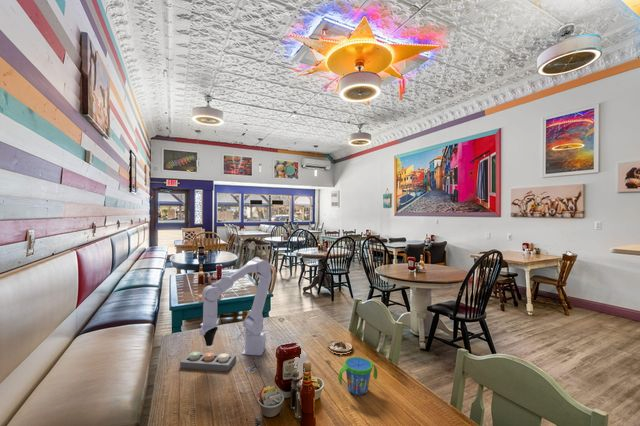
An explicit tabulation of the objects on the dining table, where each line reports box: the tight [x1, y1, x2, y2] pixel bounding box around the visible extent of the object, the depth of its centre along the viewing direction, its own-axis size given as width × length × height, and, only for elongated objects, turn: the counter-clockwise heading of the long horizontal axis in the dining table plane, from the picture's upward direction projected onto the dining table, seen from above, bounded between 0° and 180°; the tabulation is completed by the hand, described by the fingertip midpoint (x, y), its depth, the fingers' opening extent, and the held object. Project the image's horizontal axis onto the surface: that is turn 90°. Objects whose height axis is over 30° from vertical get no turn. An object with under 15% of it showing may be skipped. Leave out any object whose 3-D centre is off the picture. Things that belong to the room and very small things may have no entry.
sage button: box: [188, 351, 201, 361], centre depth 128 cm, size 4×4×2 cm
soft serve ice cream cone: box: [293, 343, 308, 377], centre depth 113 cm, size 8×8×16 cm
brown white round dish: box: [327, 340, 354, 353], centre depth 144 cm, size 15×15×4 cm
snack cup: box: [337, 356, 378, 396], centre depth 111 cm, size 16×10×10 cm
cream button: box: [218, 353, 229, 363], centre depth 126 cm, size 4×4×2 cm
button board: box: [179, 351, 237, 372], centre depth 127 cm, size 21×9×2 cm, turn 85°
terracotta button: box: [204, 352, 215, 362], centre depth 127 cm, size 4×4×2 cm
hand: (209, 345), depth 127 cm, fingers closed
